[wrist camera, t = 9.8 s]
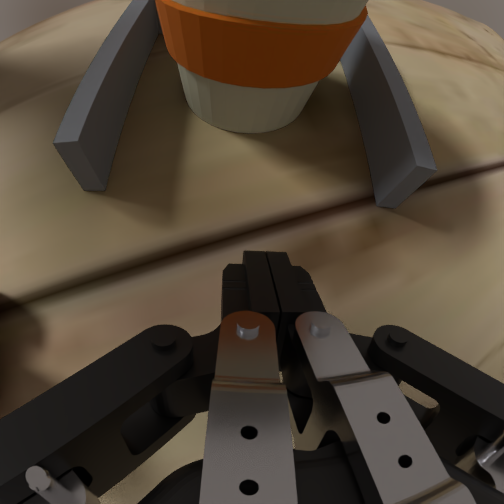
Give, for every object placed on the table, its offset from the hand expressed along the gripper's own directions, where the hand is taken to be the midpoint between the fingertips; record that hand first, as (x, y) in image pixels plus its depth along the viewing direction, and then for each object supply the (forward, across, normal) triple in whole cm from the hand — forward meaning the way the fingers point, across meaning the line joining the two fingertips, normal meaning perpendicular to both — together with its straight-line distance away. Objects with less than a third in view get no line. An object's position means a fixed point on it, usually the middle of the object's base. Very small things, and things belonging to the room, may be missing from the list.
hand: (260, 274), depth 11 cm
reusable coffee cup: (+14, 0, -7) cm, 16 cm away
